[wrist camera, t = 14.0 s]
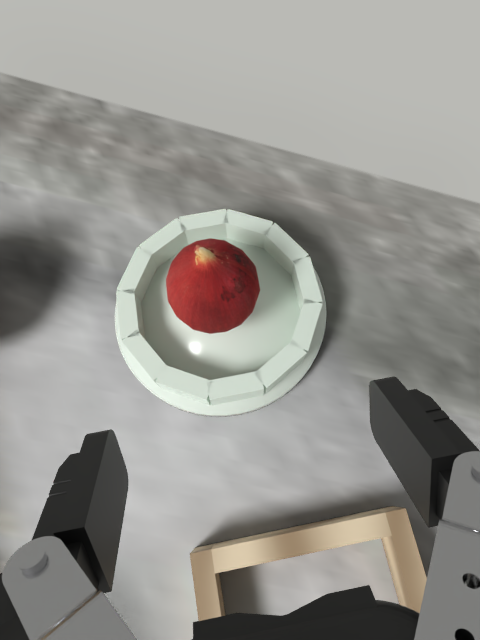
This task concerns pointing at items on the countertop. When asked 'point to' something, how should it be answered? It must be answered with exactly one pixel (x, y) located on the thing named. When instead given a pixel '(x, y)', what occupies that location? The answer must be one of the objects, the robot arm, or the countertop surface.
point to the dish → (226, 347)
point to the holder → (310, 539)
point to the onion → (212, 286)
